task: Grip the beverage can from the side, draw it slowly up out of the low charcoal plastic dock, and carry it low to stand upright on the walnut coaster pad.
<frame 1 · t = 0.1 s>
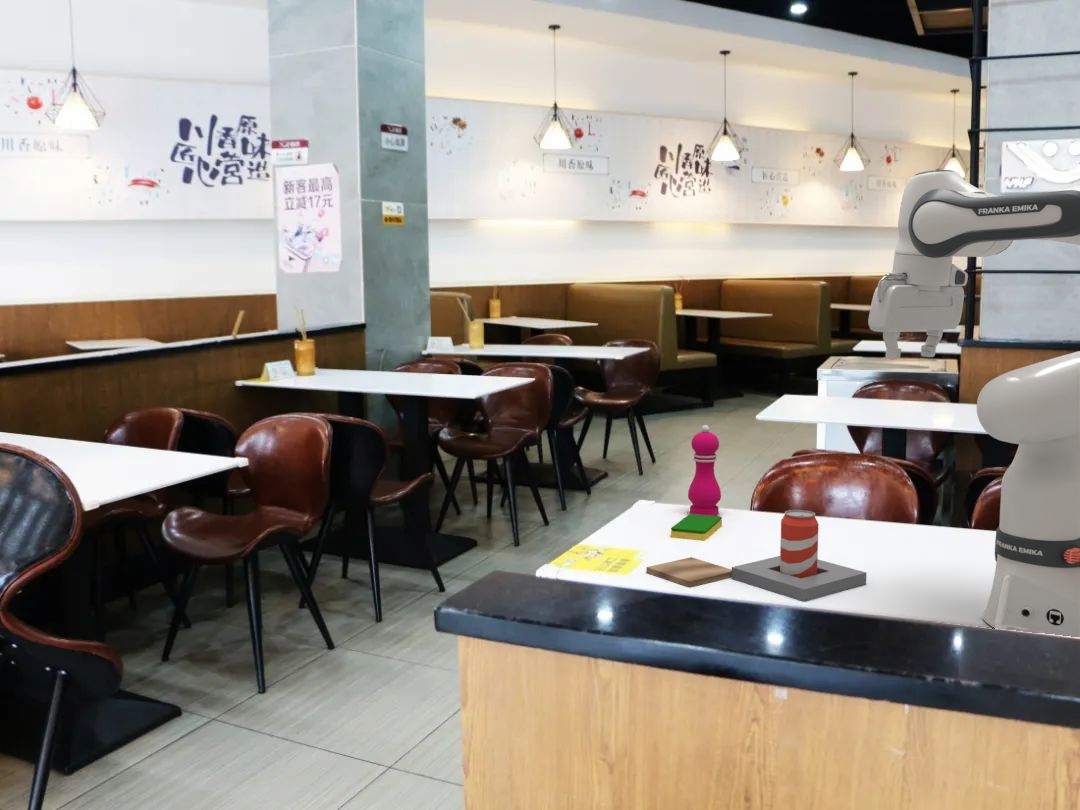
hand: (910, 357, 169), 39 cm above the table, tool pointing down, fingers open, 8 cm apart
dock: (798, 581, 178), on the table
pepper mill: (704, 515, 229), on the table
dish sponge: (696, 534, 214), on the table
beverage can: (798, 582, 178), resting in dock
coaster pad: (690, 574, 183), on the table
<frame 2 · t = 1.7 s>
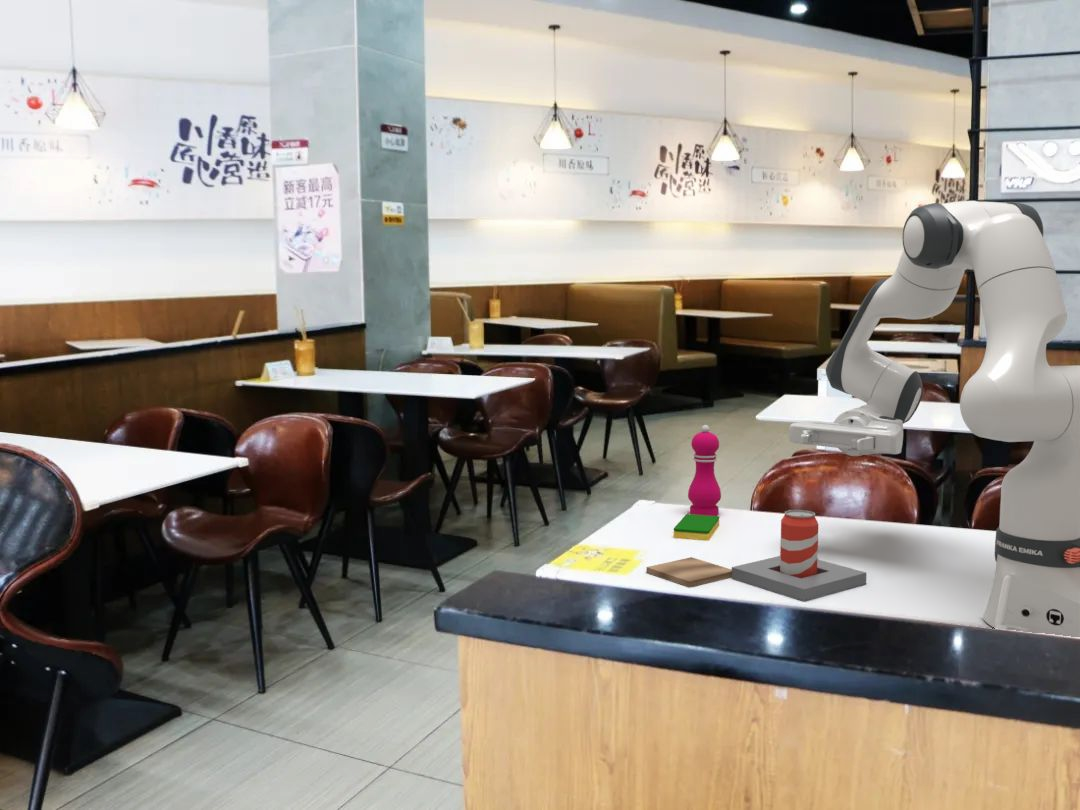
hand: (829, 442, 185), 23 cm above the table, tool horizontal, fingers open, 8 cm apart
nothing on the table moved.
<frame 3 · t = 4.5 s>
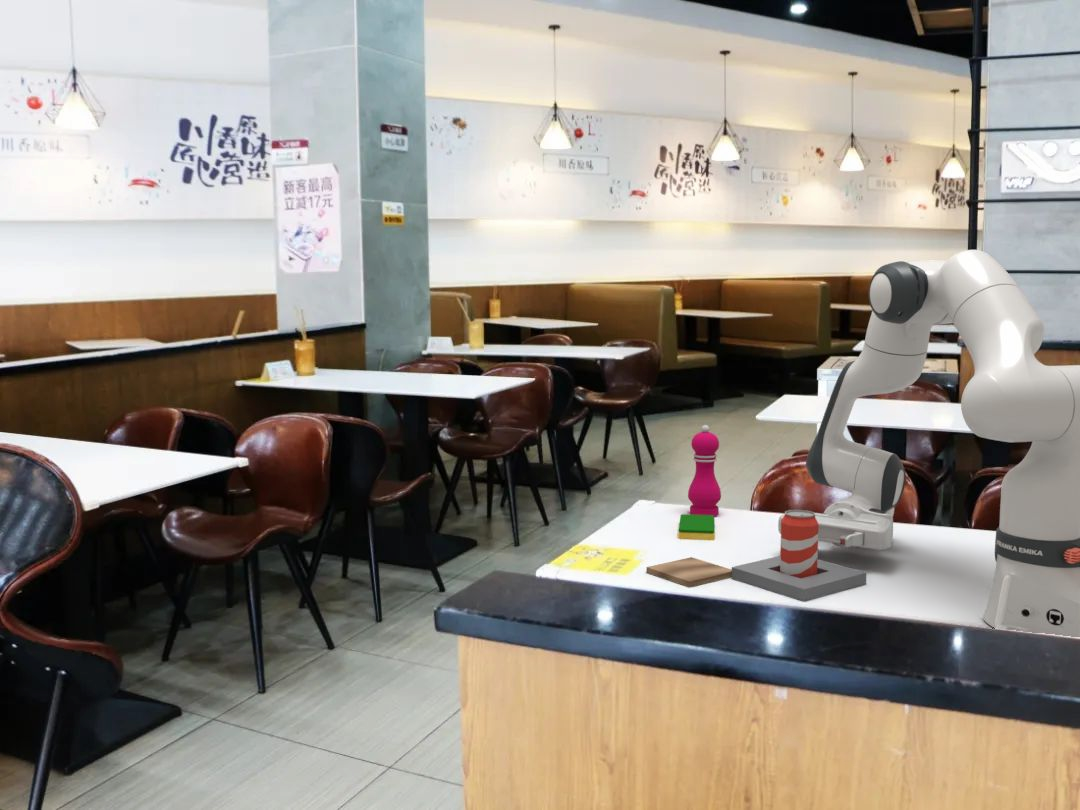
hand: (818, 538, 184), 6 cm above the table, tool horizontal, fingers open, 8 cm apart
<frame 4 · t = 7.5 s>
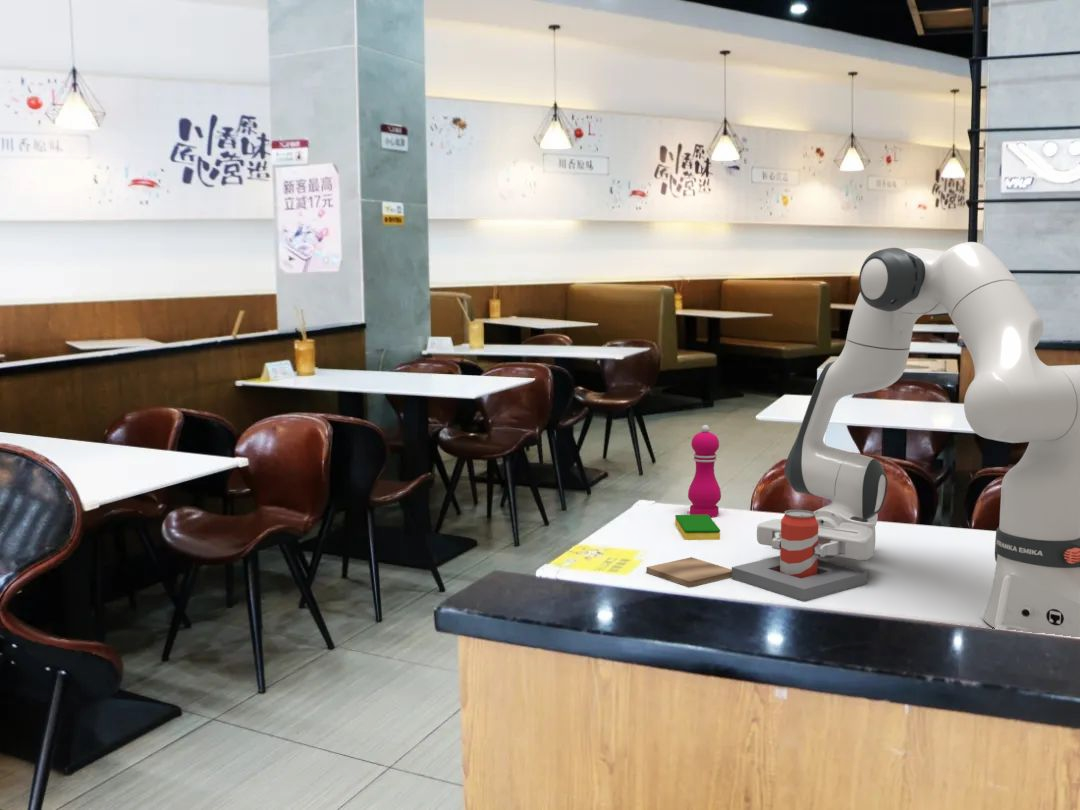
hand: (796, 548, 177), 6 cm above the table, tool horizontal, fingers closed on beverage can, 6 cm apart
beverage can: (798, 582, 178), resting in dock, touching gripper
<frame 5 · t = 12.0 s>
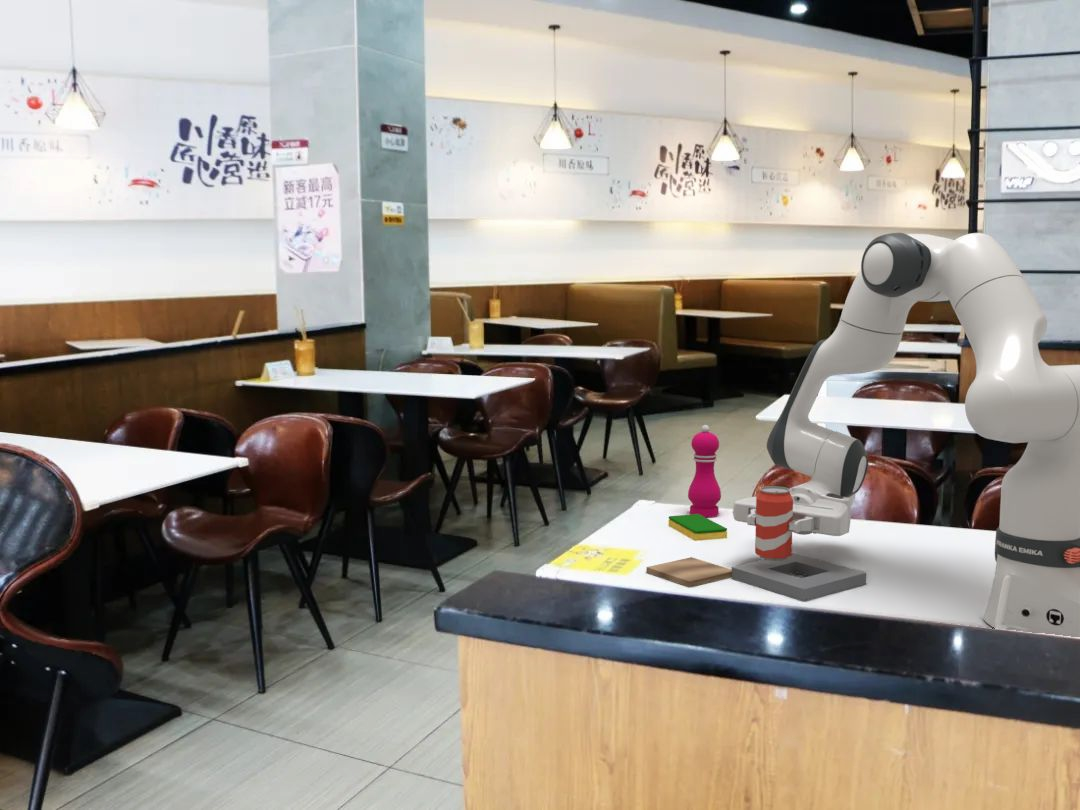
hand: (771, 524, 177), 10 cm above the table, tool horizontal, fingers closed on beverage can, 6 cm apart
beverage can: (773, 558, 179), point 4 cm above the table, touching gripper
when the fingers open (8 cm above the table, at t = 16.7 s): beverage can stays where it is, resting on coaster pad.
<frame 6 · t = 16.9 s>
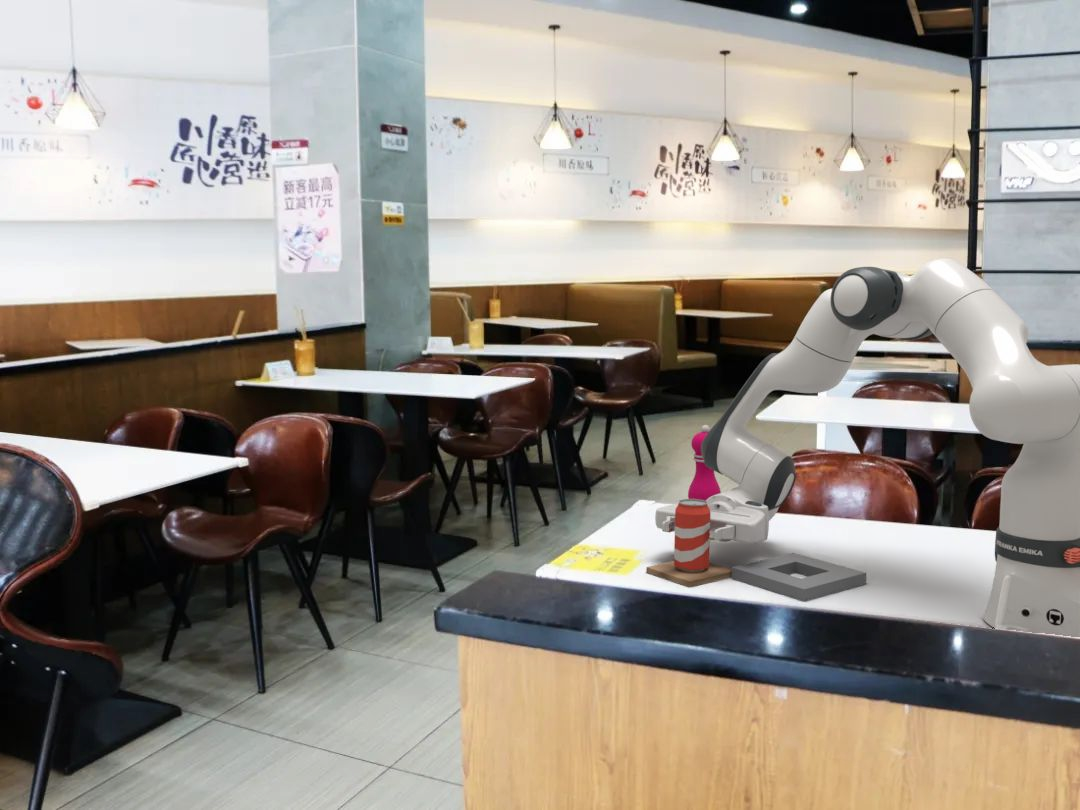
hand: (688, 531, 181), 8 cm above the table, tool horizontal, fingers open, 8 cm apart
beverage can: (691, 569, 182), point 1 cm above the table, touching coaster pad
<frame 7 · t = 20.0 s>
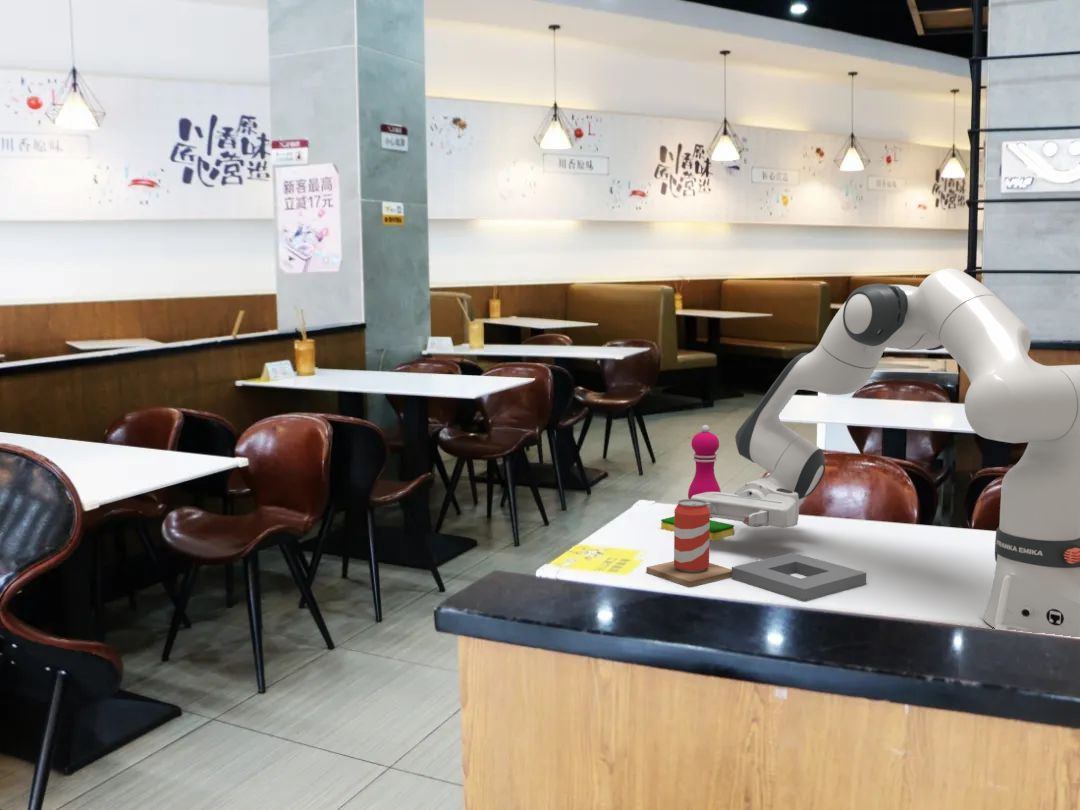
hand: (724, 516, 191), 8 cm above the table, tool horizontal, fingers open, 8 cm apart
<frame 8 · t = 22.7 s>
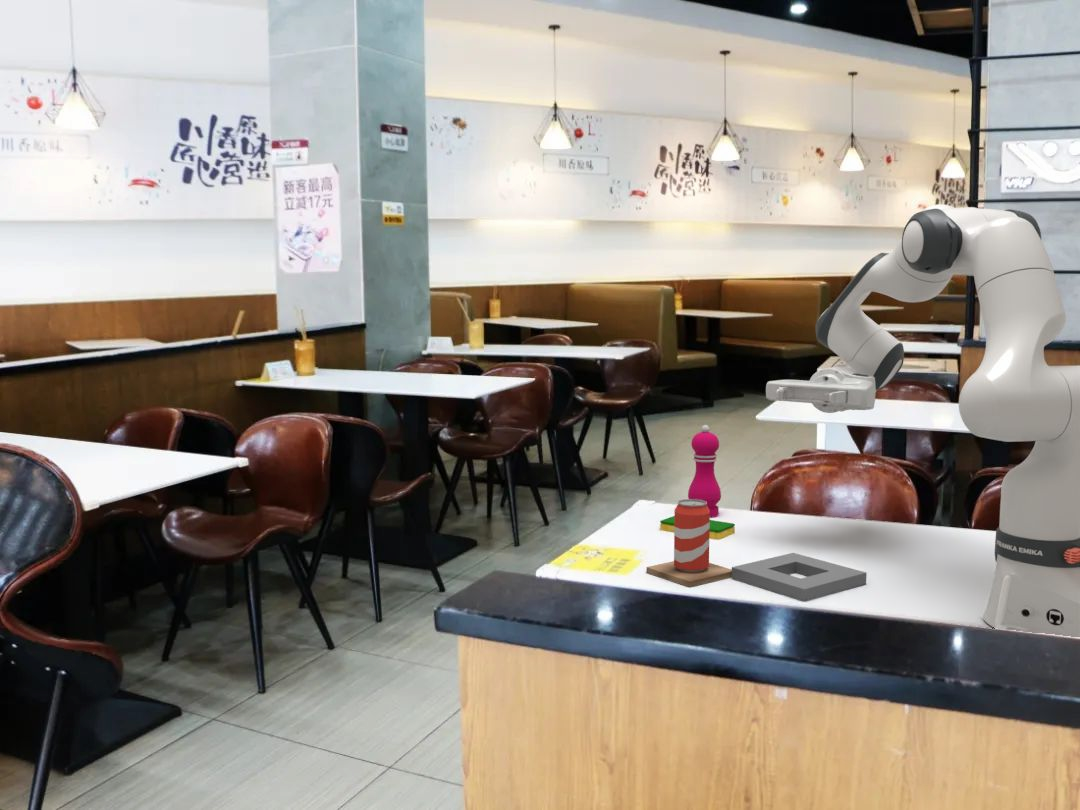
hand: (803, 396, 192), 30 cm above the table, tool horizontal, fingers open, 8 cm apart
at the end: beverage can inside the target area on the coaster pad (0.1 cm from its centre), point 0.8 cm above the coaster pad's base; beverage can tilted 0°; the gripper is holding nothing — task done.
